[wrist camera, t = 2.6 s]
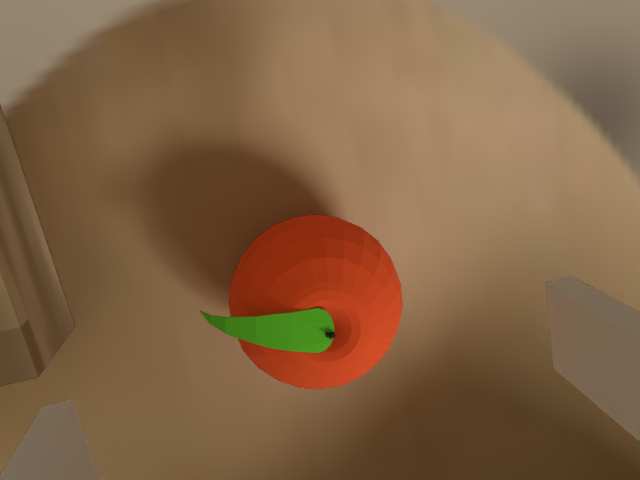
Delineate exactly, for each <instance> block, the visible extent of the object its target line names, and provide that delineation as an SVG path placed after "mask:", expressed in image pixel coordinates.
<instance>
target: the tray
mask: <svg viewBox="0 0 640 480" xmlns="http://www.w3.org/2000/svg"><path fill="white" fill-rule="evenodd" d="M74 328H75V326H74V323H73V320H72V317H71V314H70V311H69V308H68V305H67V302H66V299H65V296H64V293H63V290H62V287H61V284H60V281H59V278H58V275H57V272H56V269H55V266H54V263H53V260H52V257H51V254H50V251H49V248H48V245H47V242H46V240H45V237H44V234H43V231H42V228H41V225H40V222H39V219H38V216H37V213H36V210H35V207H34V204H33V201H32V198H31V195H30V192H29V189H28V186H27V183H26V180H25V177H24V174H23V171H22V168H21V165H20V162H19V159H18V156H17V153H16V150H15V147H14V144H13V141H12V138H11V135H10V132H9V129H8V126H7V123H6V120H5V117H4V114H3V111H2V108H1V105H0V386H4V385H8V384H12V383H17V382H21V381H25V380H29V379H33V378H37V377H39V376H40V374H41V373H42V371H43V370H44V369H45V367H46V366H47V365H48V363H49V362H50V361H51V359H52V358H53V356H54V355H55V354H56V352H57V351H58V350H59V348H60V347H61V345H62V344H63V343H64V341H65V340H66V339H67V337H68V336H69V335H70V333H71V332H72V330H73V329H74Z"/></svg>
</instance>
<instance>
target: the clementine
mask: <svg viewBox="0 0 640 480" xmlns="http://www.w3.org/2000/svg"><path fill="white" fill-rule="evenodd" d="M228 303H229V309H230V316H231V317H221V316H211V315H209V314H206V313H204V312H202V311H200V312H201V314H202V315H203V316H204V317H205V318H206V319H207V321H208V322H209V323H210V324H211V325H213V326H215V327H216V328H218V329H219V330H221V331H223V332H224V333H226V334H229V335H231V336H234V337H236V338H238V340H239V342H240V345H241V347H242V349H243V351H244V352H245V353H246V354H247V356H248V357H249V358H250V359H251V360H252V361H253V362H254V364H255V365H256V366H257V367H258V368H260V369H261V370H263V371H264V372H266V373H267V374H269V375H270V376H272V377H273V378H275V379H277V380H279V381H281V382H284V383H287V384H290V385H293V386H296V387H299V388H309V389H325V388H330V387H336V386H341V385H343V384H346V383H348V382H350V381H353V380H355V379H357V378H359V377H361V376H362V375H363V374H365V373H366V372H367V371H369V370H370V369H371V368H373V367H374V366H375V365H376V364H377V363H378V361H379V360H380V359H381V358H382V357H383V355H384V354H385V353H386V352H387V351H388V349H389V347H390V344H391V342H392V340H393V338H394V336H395V334H396V332H397V329H398V326H399V321H400V316H401V311H402V293H401V284H400V281H399V278H398V276H397V273H396V270H395V267H394V265H393V263H392V260H391V258H390V257H389V255H388V254H387V252H386V251H385V250H384V248H383V247H382V246H381V244H380V243H379V241H378V240H377V239H375V238H374V237H373V236H371V235H370V234H369V233H368V232H366V231H365V230H364V229H362V228H361V227H359V226H357V225H354V224H352V223H350V222H347V221H345V220H342V219H340V218H337V217H331V216H323V215H315V214H314V215H307V216H299V217H293V218H290V219H288V220H285V221H283V222H280V223H278V224H276V225H273V226H272V227H270V228H269V229H268V230H266V231H265V232H264V233H262V234H261V235H260V236H258V237H257V238H256V239H255V240H254V241H253V243H252V244H251V245H250V246H249V248H248V249H247V250H246V252H245V253H244V254H243V255H242V257H241V259H240V261H239V263H238V266H237V268H236V270H235V273H234V275H233V278H232V280H231V286H230V294H229V302H228Z"/></svg>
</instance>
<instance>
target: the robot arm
mask: <svg viewBox="0 0 640 480" xmlns="http://www.w3.org/2000/svg"><path fill="white" fill-rule="evenodd" d="M546 291H547V302H548V313H549V324H550V334H551V345H552V356H553V367H554V370H556V371H557V372H558V373H559V374H560V375H561V376H563V377H564V378H565V379H566V380H567V381H569V382H570V383H571V384H572V385H573V386H574V387H576V388H577V389H578V390H579V391H580V392H582V393H583V394H584V395H585V396H586V397H587V398H589V399H590V400H591V401H592V402H593V403H594V404H596V405H597V406H598V407H599V408H600V409H602V410H603V411H604V412H605V413H606V414H607V415H609V416H610V417H611V418H612V419H613V420H615V421H616V422H617V423H618V424H619V425H620V426H622V427H623V428H624V429H625V430H626V431H627V432H629V433H630V434H631V435H632V436H633V437H635V438H636V439H637V440H638V441H639V442H640V312H639V311H637V310H635V309H633V308H631V307H629V306H627V305H625V304H623V303H622V302H620V301H618V300H616V299H614V298H612V297H610V296H608V295H606V294H605V293H603V292H601V291H599V290H597V289H595V288H593V287H591V286H589V285H588V284H586V283H584V282H582V281H580V280H578V279H576V278H574V277H572V276H568V277H564V278H560V279H556V280H552V281H548V282H546ZM0 480H101V477H100V474H99V472H98V469H97V466H96V463H95V460H94V458H93V455H92V452H91V449H90V446H89V444H88V441H87V438H86V435H85V432H84V430H83V427H82V424H81V421H80V418H79V415H78V413H77V410H76V407H75V404H74V401H73V399H70V400H65V401H61V402H57V403H53V404H49V405H45V406H42V408H41V409H40V411H39V413H38V414H37V416H36V418H35V419H34V421H33V422H32V424H31V426H30V427H29V429H28V430H27V432H26V434H25V435H24V437H23V439H22V440H21V442H20V443H19V445H18V447H17V448H16V450H15V452H14V453H13V455H12V456H11V458H10V460H9V461H8V463H7V464H6V466H5V468H4V469H3V471H2V473H1V474H0Z"/></svg>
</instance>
